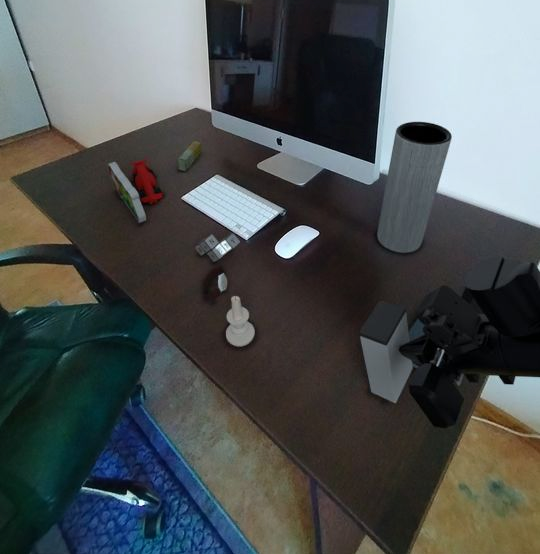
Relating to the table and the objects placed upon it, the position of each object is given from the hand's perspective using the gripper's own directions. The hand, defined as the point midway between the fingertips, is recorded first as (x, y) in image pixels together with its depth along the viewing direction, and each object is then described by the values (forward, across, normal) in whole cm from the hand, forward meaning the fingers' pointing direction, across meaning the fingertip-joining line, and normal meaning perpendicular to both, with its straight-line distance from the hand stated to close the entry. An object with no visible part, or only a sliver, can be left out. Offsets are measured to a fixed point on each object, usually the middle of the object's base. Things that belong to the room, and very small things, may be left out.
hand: (400, 350), depth 54 cm
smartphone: (+4, -12, +8) cm, 15 cm away
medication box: (+63, -31, -50) cm, 86 cm away
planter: (+15, -33, -2) cm, 37 cm away
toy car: (+62, -13, -49) cm, 80 cm away
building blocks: (+37, -5, -24) cm, 45 cm away
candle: (+24, +8, -12) cm, 28 cm away
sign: (+61, -5, -47) cm, 77 cm away
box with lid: (+6, 0, +6) cm, 8 cm away
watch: (+32, +2, -20) cm, 38 cm away
